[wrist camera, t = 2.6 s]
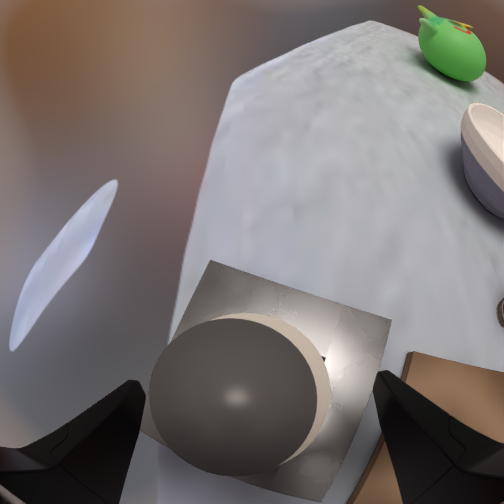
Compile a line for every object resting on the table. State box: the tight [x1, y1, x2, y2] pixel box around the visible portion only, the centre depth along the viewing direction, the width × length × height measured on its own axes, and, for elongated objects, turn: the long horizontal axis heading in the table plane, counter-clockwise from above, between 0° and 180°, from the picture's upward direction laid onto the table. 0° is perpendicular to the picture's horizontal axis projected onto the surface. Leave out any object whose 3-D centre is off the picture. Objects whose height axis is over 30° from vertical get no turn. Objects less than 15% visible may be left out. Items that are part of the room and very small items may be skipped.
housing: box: [140, 260, 392, 502], centre depth 15 cm, size 12×12×3 cm
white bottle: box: [149, 313, 331, 476], centre depth 10 cm, size 4×4×14 cm
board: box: [347, 351, 504, 504], centre depth 11 cm, size 14×14×1 cm
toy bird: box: [418, 5, 486, 81], centre depth 30 cm, size 18×17×15 cm
